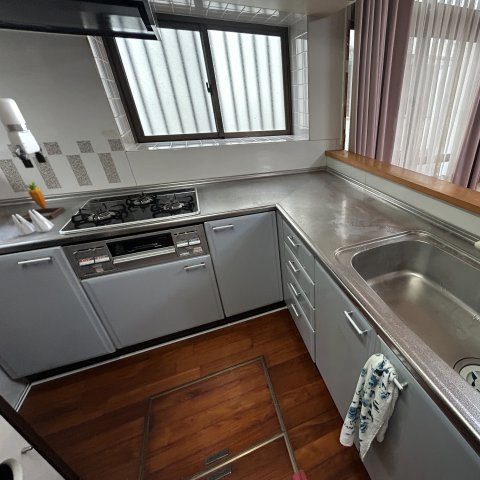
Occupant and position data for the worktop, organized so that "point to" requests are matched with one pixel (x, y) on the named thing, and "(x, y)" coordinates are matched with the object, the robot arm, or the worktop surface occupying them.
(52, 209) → the frame
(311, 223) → the worktop surface
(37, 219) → the shaker set
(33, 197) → the carrot
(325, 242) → the worktop surface
